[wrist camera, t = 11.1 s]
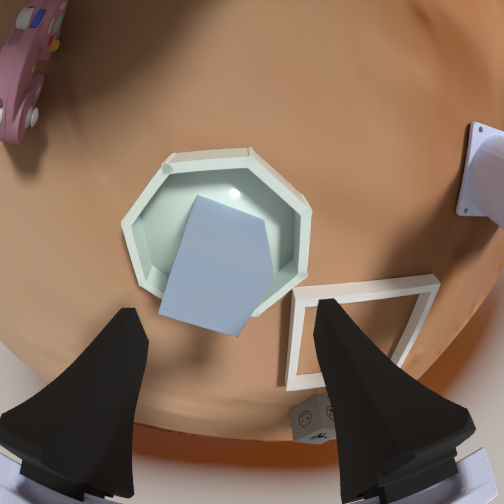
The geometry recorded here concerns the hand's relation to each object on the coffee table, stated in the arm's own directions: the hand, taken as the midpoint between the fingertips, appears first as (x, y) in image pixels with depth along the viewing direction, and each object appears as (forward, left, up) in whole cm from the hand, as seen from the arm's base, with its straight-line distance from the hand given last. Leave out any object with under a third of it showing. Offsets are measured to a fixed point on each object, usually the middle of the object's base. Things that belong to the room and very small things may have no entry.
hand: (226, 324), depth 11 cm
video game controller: (+12, -13, -10) cm, 20 cm away
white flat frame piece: (-11, +13, -9) cm, 19 cm away
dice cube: (-9, +28, -10) cm, 31 cm away
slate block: (+1, +1, -9) cm, 9 cm away
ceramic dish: (+1, +1, -9) cm, 9 cm away
